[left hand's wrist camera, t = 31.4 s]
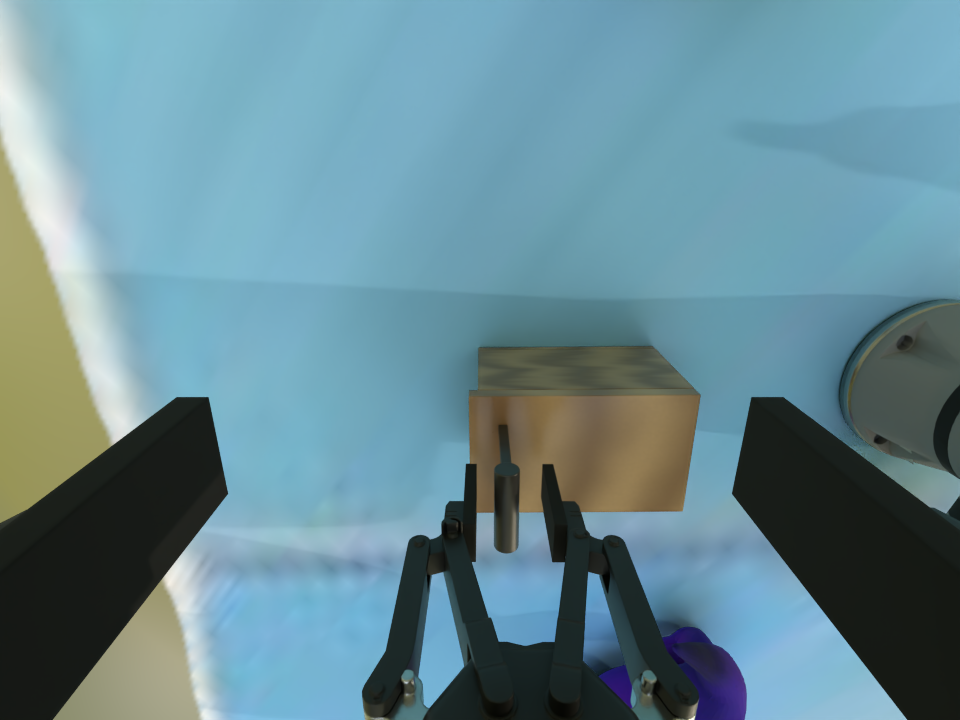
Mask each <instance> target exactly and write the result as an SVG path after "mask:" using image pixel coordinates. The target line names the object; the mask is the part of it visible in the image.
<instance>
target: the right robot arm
mask: <svg viewBox="0 0 960 720" xmlns="http://www.w3.org/2000/svg"><path fill="white" fill-rule="evenodd" d="M840 405H841V410H842V413H843V416H844V419H845V421H846V423H847V424H848V426H849V427H850V429H851V430H852V431H853V432H854V433H855V434H856V435H857V436H858V437H860V438H861V439H862V440H864V441H865V442H867V443H868V444H870V445H871V446H872V447H874V448H876V449H877V450H879V451H882V452H884V453H886V454H889V455H891V456H894V457H897V458H901V459H904V460H908V461H909V462H911V463H912V464H913V462H915V463H919V464H922V465H926V466H929V467H933V468H936V469H940V470H944V471H947V472H949V473H951V474H952V475H954V476H956V477H957V478H959V479H960V300H936V301H930V302H926V303H922V304H918V305H916V306H913V307H910V308H908V309H906V310H903V311H901V312H899V313H898V314H896V315H894V316H892V317H891V318H889V319H888V320H886V321H885V322H883V323H882V324H881V325H879V326H878V327H877V328H876V329H875V330H873V331H872V332H871V333H870V334H869V335H868V336H867V337H866V338H865V339H864V340H863V342H862V343H861V344H860V345H859V347H858V348H857V349H856V351H855V352H854V354H853V355H852V357H851V359H850V360H849V362H848V365H847V367H846V369H845V372H844V375H843V378H842V382H841V387H840ZM541 500H542V506H543V512H544V517H545V523H546V529H547V534H548V540H549V545H550V551H551V557H552V562H565V567H564V575H563V583H562V591H561V599H560V607H559V615H558V620H557V628H556V636H555V642H541V643H537V644H533V645H528V646H522V645H518V644H514V643H510V642H499V641H498V638H497V635H496V632H495V629H494V625H493V622H492V619H491V618H489V617H488V614H487V611H486V608H485V604H484V601H483V598H482V595H481V591H480V588H479V585H478V581H477V578H476V575H475V572H474V568H473V565H472V562H476V518H477V464H466V473H465V490H464V501H449V503H448V504H447V505H446V509H445V518H444V520H443V521H442V524H441V526H442V534H441V535H440V536H439V537H437V538H434V539H431V540H430V539H429V538H428V537H426V536H424V535H417V536H414V537H412V538H411V539H410V540H409V542H408V547H407V552H406V557H405V561H404V566H403V571H402V576H401V581H400V585H399V590H398V595H397V600H396V605H395V609H394V614H393V619H392V624H391V629H390V633H389V638H388V643H387V648H386V652H385V653H384V655H383V656H382V658H381V660H380V661H379V663H378V664H377V666H376V668H375V669H374V671H373V672H372V674H371V676H370V677H369V679H368V680H367V682H366V684H365V685H364V688H363V690H362V698H363V708H364V717H365V720H695V716H696V711H697V706H698V701H699V692H698V690H697V688H696V687H695V685H694V684H693V683H692V682H691V680H690V679H689V678H688V677H687V675H686V674H685V673H684V672H683V670H682V669H681V668H680V667H679V665H678V664H677V663H676V662H675V660H674V659H673V658H672V657H671V655H670V654H669V653H668V652H667V649H666V647H665V644H664V642H663V639H662V637H661V634H660V631H659V629H658V626H657V624H656V621H655V619H654V616H653V613H652V611H651V608H650V606H649V603H648V601H647V598H646V595H645V593H644V590H643V588H642V585H641V583H640V580H639V578H638V575H637V572H636V570H635V567H634V565H633V562H632V560H631V557H630V554H629V552H628V549H627V547H626V544H625V542H624V540H623V539H621V538H620V537H618V536H614V535H608V536H606V537H604V539H603V540H600V539H596V538H594V537H592V536H590V533H589V532H588V531H587V530H586V528H585V525H584V521H583V518H582V514H581V511H580V507H579V505H578V504H577V503H576V502H575V501H562V498H561V494H560V490H559V486H558V482H557V478H556V473H555V469H554V465H553V464H542V484H541ZM946 514H947V515H949V516H951V517H953V518H955V519H957V520H959V521H960V496H959V497H958V499H957V500H956V501H955V503H954V504H953V506H952V507H951V508H950V509H949V511H948V512H947V513H946ZM565 557H566V558H565ZM441 572H443V573H444V577H445V581H446V586H447V590H448V595H449V599H450V604H451V608H452V613H453V617H454V621H455V626H456V630H457V635H458V639H459V644H460V648H461V652H462V657H463V661H464V668H463V669H462V670H461V671H460V672H459V674H458V675H457V676H456V677H455V678H454V680H453V681H452V682H451V683H450V684H449V686H448V687H447V688H446V689H445V690H444V692H443V693H442V694H441V695H440V696H439V698H438V699H437V700H436V701H435V702H434V703H433V705H432V706H431V707H430V708H427V707H426V706H425V705H424V699H423V684H422V681H421V680H420V679H419V678H418V674H419V667H420V659H421V652H422V644H423V637H424V629H425V622H426V614H427V607H428V600H429V592H430V585H431V577H432V575H433V574H437V573H441ZM588 572H591V573H595V574H599V575H600V580H601V583H602V587H603V590H604V594H605V597H606V600H607V604H608V607H609V611H610V614H611V617H612V621H613V624H614V627H615V631H616V634H617V638H618V641H619V644H620V648H621V651H622V655H623V658H624V661H625V665H626V668H627V672H628V675H629V678H630V682H631V684H632V693H631V705H632V708H630V707H629V706H628V705H627V704H626V703H625V702H624V701H623V700H622V699H621V698H620V697H619V696H618V695H617V694H616V693H615V692H614V691H613V690H612V689H611V688H610V687H609V686H608V685H607V684H606V683H605V682H604V681H603V680H602V679H601V678H600V677H599V676H598V675H597V674H596V673H595V672H594V671H593V670H592V669H591V668H590V667H589V666H588V665H587V664H586V663H585V662H584V661H583V647H584V631H585V611H586V595H587V579H588Z"/></svg>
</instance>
